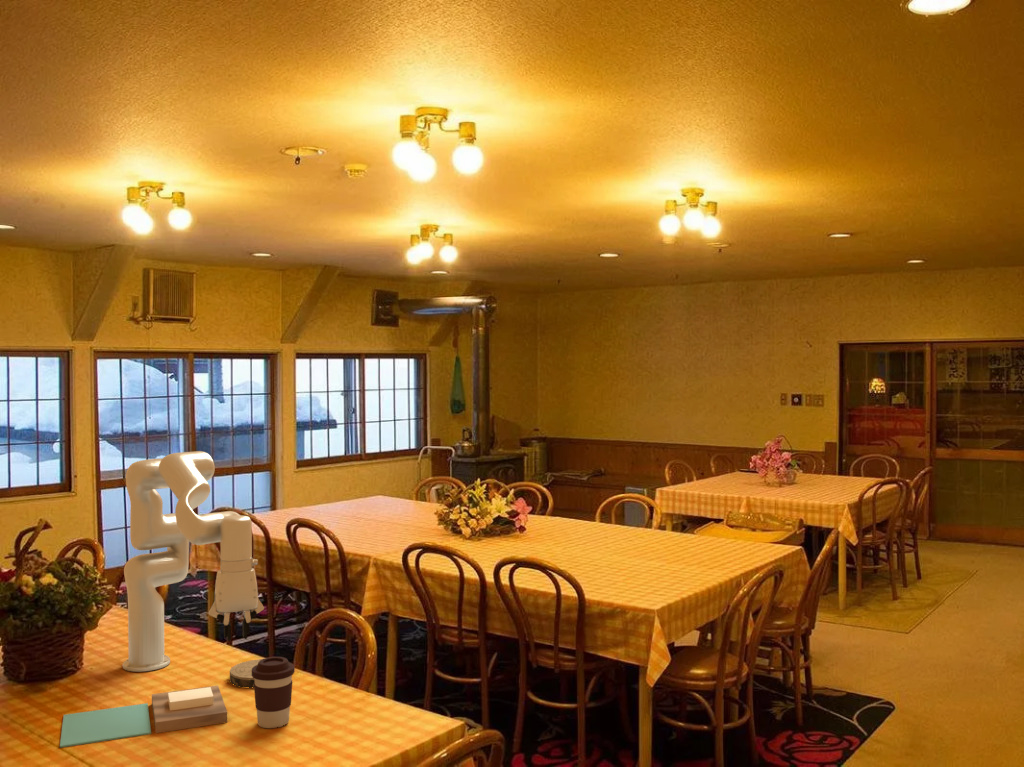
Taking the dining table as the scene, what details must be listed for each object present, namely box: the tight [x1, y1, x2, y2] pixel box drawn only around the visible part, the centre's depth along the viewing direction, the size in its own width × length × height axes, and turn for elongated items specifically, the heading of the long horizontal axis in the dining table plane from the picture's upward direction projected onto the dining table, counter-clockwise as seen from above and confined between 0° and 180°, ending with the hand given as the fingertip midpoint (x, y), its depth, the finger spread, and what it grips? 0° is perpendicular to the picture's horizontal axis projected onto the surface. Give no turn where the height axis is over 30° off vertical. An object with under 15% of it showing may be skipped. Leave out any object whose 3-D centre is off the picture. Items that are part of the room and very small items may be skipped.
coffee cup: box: [252, 656, 296, 729], centre depth 218 cm, size 10×10×15 cm
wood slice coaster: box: [229, 658, 263, 689], centre depth 250 cm, size 16×16×3 cm
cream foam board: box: [168, 686, 214, 711], centre depth 224 cm, size 7×10×2 cm
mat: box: [59, 702, 152, 748], centre depth 217 cm, size 20×19×1 cm
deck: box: [151, 684, 228, 734], centre depth 224 cm, size 20×16×2 cm
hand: (236, 637), depth 229 cm, fingers open, 3 cm apart
